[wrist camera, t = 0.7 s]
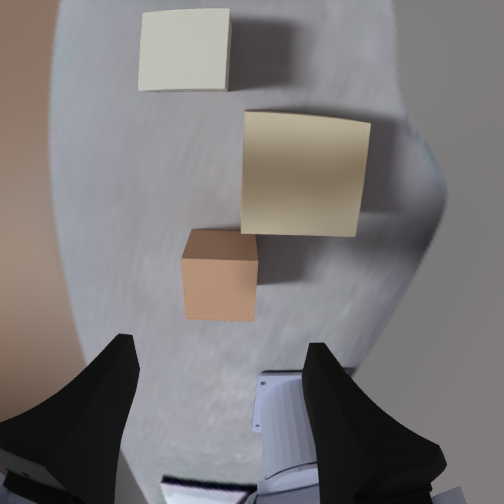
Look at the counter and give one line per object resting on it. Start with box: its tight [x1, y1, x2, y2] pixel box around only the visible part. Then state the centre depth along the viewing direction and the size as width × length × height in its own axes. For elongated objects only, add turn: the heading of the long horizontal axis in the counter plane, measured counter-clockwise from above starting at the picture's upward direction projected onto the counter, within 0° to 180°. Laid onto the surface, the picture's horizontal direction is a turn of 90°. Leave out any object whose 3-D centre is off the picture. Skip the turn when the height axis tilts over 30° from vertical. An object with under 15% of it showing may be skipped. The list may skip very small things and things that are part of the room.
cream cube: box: [138, 8, 232, 93], centre depth 14 cm, size 4×4×4 cm
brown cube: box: [182, 229, 258, 322], centre depth 19 cm, size 4×4×4 cm
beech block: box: [241, 110, 371, 237], centre depth 17 cm, size 6×6×4 cm
